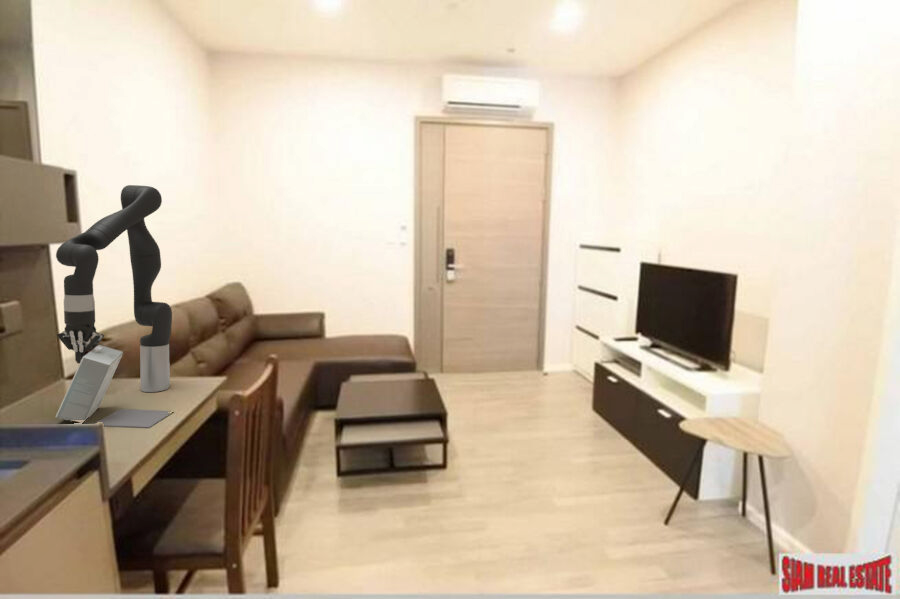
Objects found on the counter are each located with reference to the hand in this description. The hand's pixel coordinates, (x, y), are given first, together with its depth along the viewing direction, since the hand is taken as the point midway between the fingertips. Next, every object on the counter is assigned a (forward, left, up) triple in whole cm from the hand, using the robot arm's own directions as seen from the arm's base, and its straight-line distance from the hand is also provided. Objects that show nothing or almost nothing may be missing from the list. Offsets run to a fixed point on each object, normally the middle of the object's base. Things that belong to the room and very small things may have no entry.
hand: (81, 362), depth 147 cm
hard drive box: (+2, 0, -16) cm, 16 cm away
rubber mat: (+1, +17, -17) cm, 24 cm away
